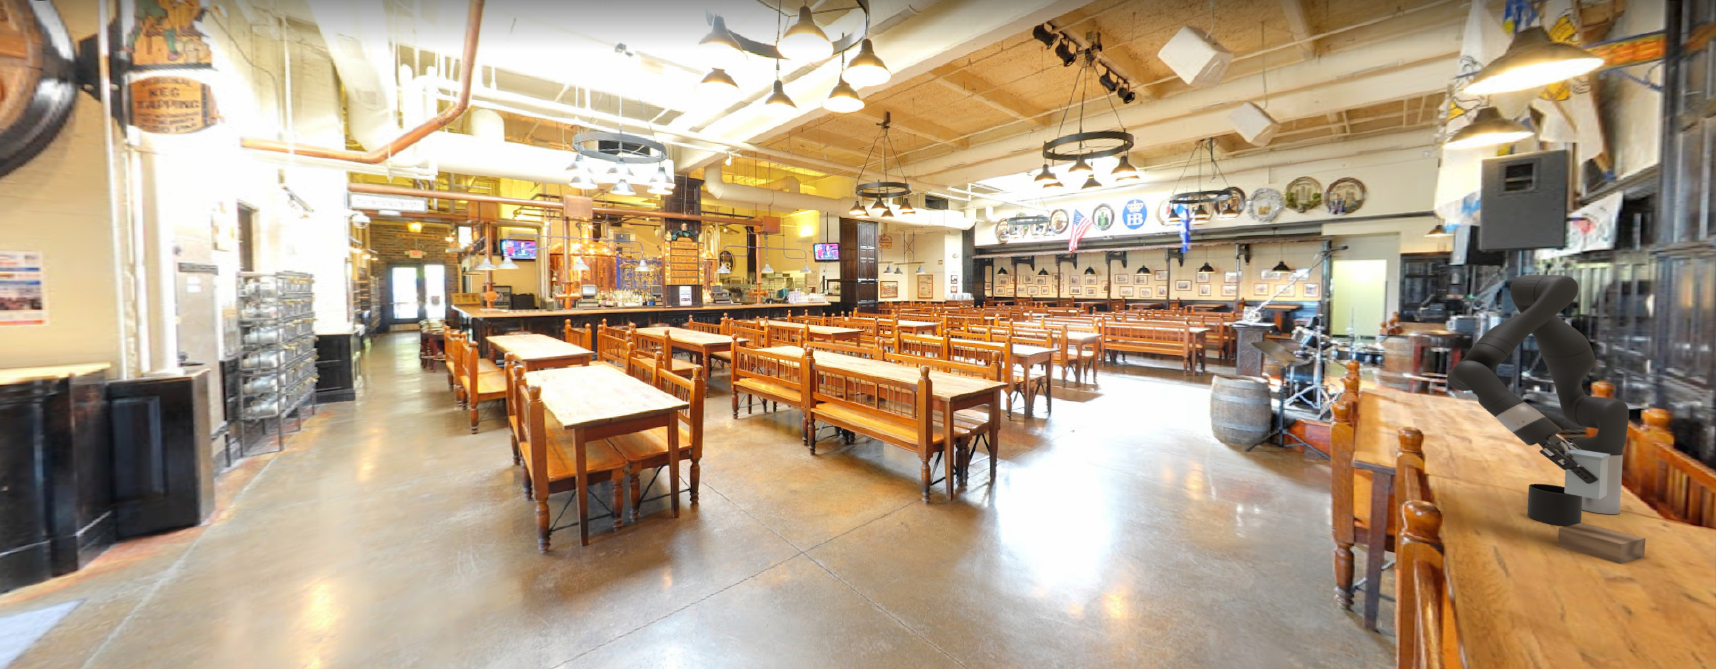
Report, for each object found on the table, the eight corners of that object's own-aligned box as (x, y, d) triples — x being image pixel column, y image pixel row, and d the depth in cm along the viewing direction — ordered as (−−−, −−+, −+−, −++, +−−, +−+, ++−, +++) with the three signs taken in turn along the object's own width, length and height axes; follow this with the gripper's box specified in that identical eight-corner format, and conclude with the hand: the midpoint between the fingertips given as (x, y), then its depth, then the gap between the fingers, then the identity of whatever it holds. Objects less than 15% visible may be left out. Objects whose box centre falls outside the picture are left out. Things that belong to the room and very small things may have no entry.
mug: (1578, 517, 158) (1580, 486, 158) (1582, 529, 150) (1583, 497, 150) (1527, 508, 165) (1528, 479, 165) (1527, 520, 158) (1529, 489, 157)
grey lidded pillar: (1571, 488, 144) (1573, 448, 143) (1608, 495, 139) (1610, 454, 138) (1562, 492, 142) (1564, 452, 141) (1599, 499, 136) (1601, 457, 136)
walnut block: (1581, 541, 145) (1582, 522, 144) (1644, 558, 135) (1645, 538, 135) (1557, 547, 142) (1558, 528, 142) (1620, 564, 132) (1621, 544, 132)
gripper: (1532, 419, 143) (1606, 477, 133) (1553, 412, 149) (1626, 467, 139) (1501, 435, 148) (1570, 492, 138) (1523, 427, 154) (1590, 482, 144)
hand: (1597, 479), depth 138 cm, fingers closed on grey lidded pillar, 5 cm apart
